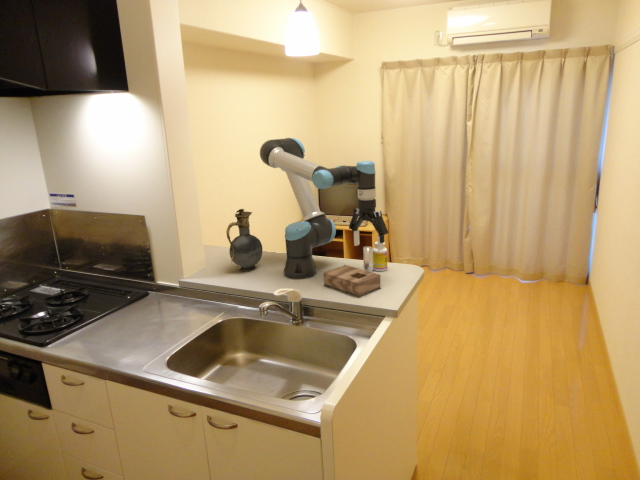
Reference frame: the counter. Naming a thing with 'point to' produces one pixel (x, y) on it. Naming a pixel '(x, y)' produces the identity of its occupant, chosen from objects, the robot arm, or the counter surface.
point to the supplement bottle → (379, 258)
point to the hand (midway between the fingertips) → (368, 247)
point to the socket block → (352, 280)
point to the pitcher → (244, 243)
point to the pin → (368, 258)
